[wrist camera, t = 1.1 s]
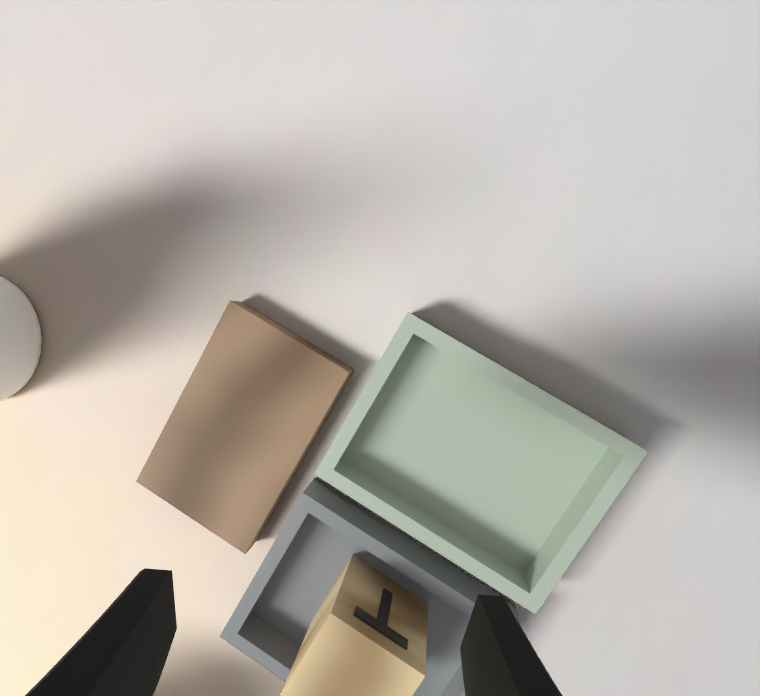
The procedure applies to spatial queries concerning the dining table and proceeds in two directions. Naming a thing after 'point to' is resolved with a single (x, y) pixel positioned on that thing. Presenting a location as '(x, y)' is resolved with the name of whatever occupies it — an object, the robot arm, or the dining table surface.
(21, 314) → the milk bottle
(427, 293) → the dining table surface
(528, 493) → the sage tray
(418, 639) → the letter cube
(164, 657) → the robot arm
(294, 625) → the gray tray
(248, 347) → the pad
